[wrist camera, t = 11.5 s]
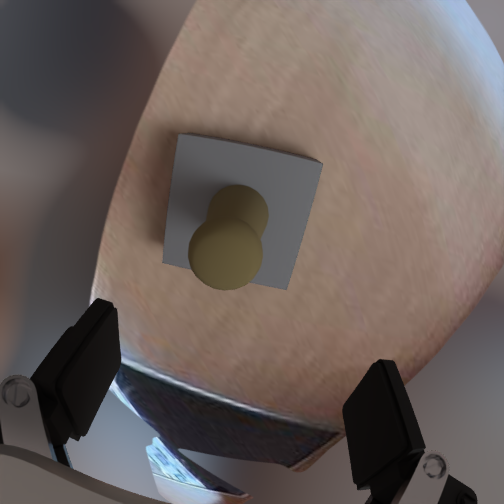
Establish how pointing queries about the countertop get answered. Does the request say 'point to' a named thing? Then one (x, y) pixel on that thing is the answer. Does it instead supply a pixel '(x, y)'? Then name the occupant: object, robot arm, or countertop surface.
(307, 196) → the base block
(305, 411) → the countertop surface
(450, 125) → the countertop surface
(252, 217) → the cork
